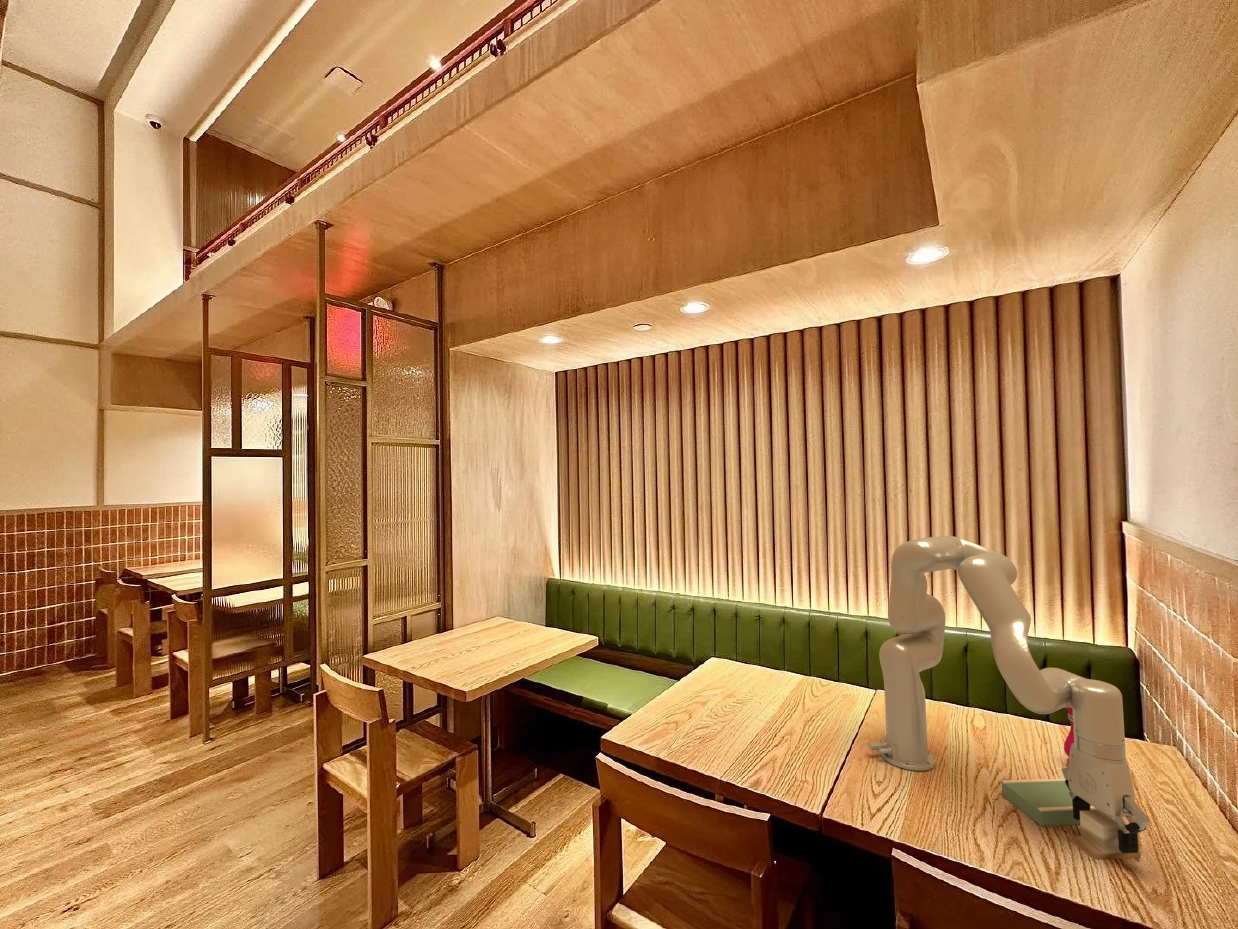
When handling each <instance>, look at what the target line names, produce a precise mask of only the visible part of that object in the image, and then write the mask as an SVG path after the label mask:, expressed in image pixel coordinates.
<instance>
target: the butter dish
mask: <svg viewBox="0 0 1238 929" xmlns="http://www.w3.org/2000/svg"><path fill="white" fill-rule="evenodd" d="M1118 830H1121V828H1120V826H1119V825H1118V823H1117V821H1116V819H1115V817H1110V816H1108V815H1106V814H1104V813H1103V812H1101V811H1100V810H1090V811H1080V835H1079V836H1078V835H1077V836H1071V837H1070V839H1071V843H1072V844H1074V846H1075V847H1078V848H1079V849H1080V850H1081V851H1083V852H1084V853H1085V854H1086V855H1088V856H1090V857H1091V858H1092V859H1093V860H1117V859H1119V860H1122V859H1124V860H1125V859H1140V858H1141V852H1140V850H1138V853H1122V852H1121V851H1120V850H1119V844H1118ZM1109 858H1110V859H1109ZM1114 858H1116V859H1114Z"/></svg>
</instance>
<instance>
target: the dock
mask: <svg viewBox="0 0 1238 929" xmlns="http://www.w3.org/2000/svg"><path fill="white" fill-rule="evenodd" d="M1065 780H1066V779H1065V778H1045V779H1044V778H1043V779H1042V778H1041V779H1040V778H1039V779H1015V780H1014V779H1013V780H1001V794H1002V796H1003V797H1004V798H1005V799H1006V800H1008V801H1009V802H1010V803H1011V804H1013V805H1014V806H1016V807H1017V808H1018V809H1019V810H1020V811H1021V812H1023V813H1024V814H1025V815H1027V816H1028V817H1029V818H1031V819H1032V820H1033V821H1034V822H1036V824H1038V825H1040V826H1041V827H1047V826H1048V827H1049V826H1079V825H1080V820H1076V819H1075V818H1074V817H1073V803H1072V799H1073V798H1072V797H1071V796H1070V795H1069V792H1070V790H1069V789H1068V787H1067V785H1066V783H1065ZM1090 810H1098V809H1097V808H1095V807H1093V806H1092V805H1090Z"/></svg>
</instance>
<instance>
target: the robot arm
mask: <svg viewBox="0 0 1238 929" xmlns="http://www.w3.org/2000/svg"><path fill="white" fill-rule="evenodd" d="M890 561H891V562H890V572H891V574H890V585H889V586H890V587H889V596H888V610H887V611H888V612H887V618H888V620H887V621H888V622H889V626H890V627H891V629H893V630H894V631H895V633H896V632H897V633H898V634H901V635H898V636H894V637H891V638H889V639H887V640H885V641H884V642H883V643H882V644H881V646H880V648H879V651H878V652H879V654H878V655H879V656H878V658H879V662H880V667H881V671H882V676H883V686H884V706H885V708H884V709H885V710H884V711H885V731H886V736H882V740H880V741H878V742H876V741H868V743H867V745H868V749H869V750H870V751H878V754H879V755H881V757H882V758H883V759H884V760H885V761H886V762H888V763H889V764H891V765H893V766H894V767H898V768H901V769H905V770H909V771H914V772H915V771H918V772H919V771H920V772H923V771H929V770H931V769H933V768H934V767H935V766H936V760H935V759H936V758H935V757H934V756H933V754H932V753H931V752H929V748H928V727H927V725H928V723H927V705H926V704H927V703H926V702H927V701H926V692H925V688H924V684H923V681H922V680H921V675H920V672H922V671H926V670H928V669H931V668H935V667H936V666H937V665H938V664H939V663H940V661H941V659H942V657H943V653H944V642H945V632H946V613H945V609H944V607H943V605H942V603H941V602H940V601H939V599H937V598H936V597H935V596H933V595H931V594H929V593H928V580H927V577H926V573H930V572H940V571H945V570H946V571H947V570H955V571H957V575H958V578H959V580H960V582H961V584H962V586H963V587H964V589H965V590H966V592H967V594H968V595H969V597H970V599H971V600H972V602H973V604H974V606H975V607H976V609H977V610H978V612H979V614H980V615H981V617H982V619H983V620H984V622H985V624H986V626H987V627H988V629H989V635H990V643H991V647H992V652H993V657H994V660H995V663H996V666H997V668H998V670H999V672H1000V675H1001V676H1002V678H1003V679H1004V681H1005V683H1006V685H1007V686H1008V688H1009V689H1010V690H1009V691H1010V692H1011V693H1012V694H1013V696H1014V698H1016V700H1018V702H1019V703H1020V704H1021V705H1022V706H1023V707H1024V708H1026V709H1027V710H1029V711H1030V712H1033V713H1035V714H1039V715H1048V714H1049V715H1050V714H1052V713H1055V712H1057V711H1060V710H1062V709H1066V707H1071V708H1073V724H1074V730H1073V733H1074V743H1072V746H1071V749H1070V754H1069V757H1068V758H1069V764H1068V766H1067V767H1066V768H1065V767H1063V768H1061V770H1060V771H1061V773H1062V776H1063V779H1066V780H1065V783H1066V785H1067V787H1068V789H1069V790H1070V792H1069V795H1070V796H1071V797H1072V798H1073V799H1072V803H1073V817H1074V818H1075V819H1076V820H1080V811H1090V805H1092V806H1093V807H1095V808H1097V809H1098V810H1100V811H1101V812H1103V813H1104V814H1106V815H1108V816H1110V817H1115V819H1116V821H1117V823H1118V825H1119V826H1120V828H1121V830H1118V844H1119V850H1120V851H1121V852H1122V853H1138V851H1139V839H1138V838H1139V837H1138V834H1140V833H1142V832H1144V831H1146V830H1147V827H1148V825H1149V824H1150V821H1151V819H1150V818H1149V816H1148V815H1147V814H1146V813H1144V811H1143V810H1142V808H1141V807H1139V805H1137V803H1136V794H1135V788H1134V783H1133V778H1132V774H1131V770H1130V766H1129V762H1127V760H1126V759H1127V758H1126V756H1127V755H1126V754H1127V753H1126V740H1125V739H1126V738H1125V721H1124V706H1123V705H1124V704H1123V695H1122V692H1121V690H1120V689H1119V688H1118V687H1116V686H1115V685H1113V684H1111V683H1109V682H1105V681H1102V680H1096V679H1093V678H1092V679H1089V678H1086V677H1083V676H1080V675H1077V674H1075V673H1073V672H1071V671H1070V672H1069V671H1067V670H1065V669H1062V668H1058V667H1045V668H1042V669H1040V668H1039V667H1038V666H1037V664H1036V662H1035V660H1034V659H1033V656H1032V654H1031V652H1030V648H1029V641H1028V640H1029V639H1028V638H1029V637H1028V636H1029V631H1030V628H1031V622H1032V621H1031V620H1032V619H1031V618H1032V617H1031V614H1030V613H1029V611H1028V609H1027V608H1026V607H1025V605H1024V604H1023V602H1022V601H1021V599H1020V597H1019V595H1018V594H1017V593H1016V591H1015V589H1014V588H1013V587H1012V585H1013V584H1014V583H1015V582H1016V580H1017V577H1018V569H1017V567H1016V565H1015V564H1014V562H1013V561H1012V560H1011V559H1010V558H1008V557H1007V555H1004V554H1002V553H1000V552H998V551H994V550H993V549H990V548H988V547H984V546H982V545H980V544H976V543H974V542H972V541H969V540H966V539H963V538H962V537H961V538H960V537H958V536H953V535H941V536H940V535H939V536H930V537H928V536H927V537H922V538H917V539H911V540H908V541H906V542H903V543H901V544H899V546H897V548H895V550H894V552H893V554H892V556H891V560H890ZM1124 818H1126V820H1127V821H1128V824H1127V823H1126V822H1125V820H1124Z"/></svg>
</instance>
